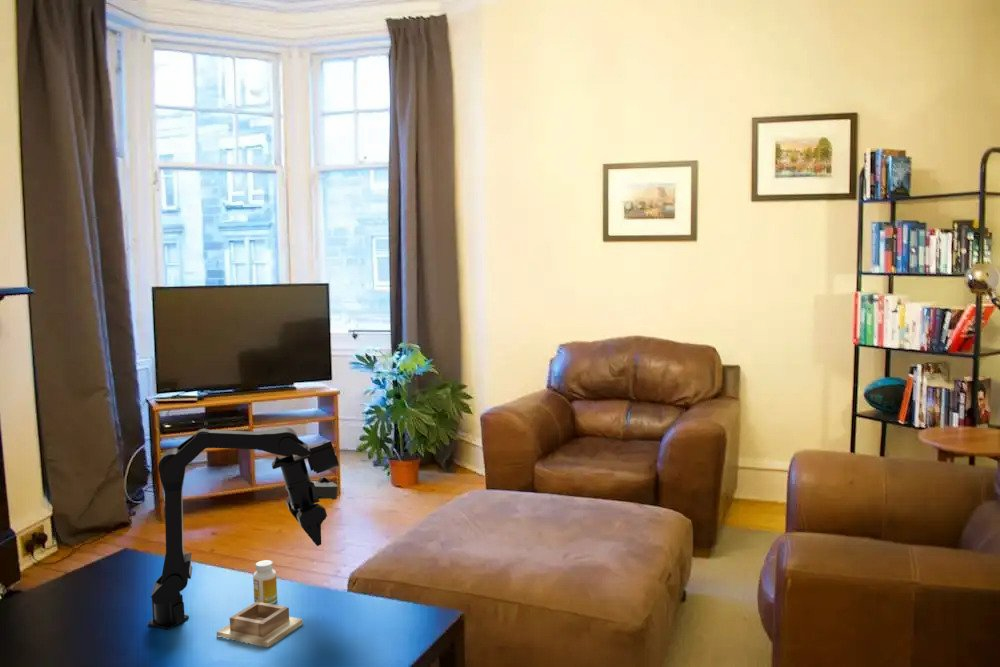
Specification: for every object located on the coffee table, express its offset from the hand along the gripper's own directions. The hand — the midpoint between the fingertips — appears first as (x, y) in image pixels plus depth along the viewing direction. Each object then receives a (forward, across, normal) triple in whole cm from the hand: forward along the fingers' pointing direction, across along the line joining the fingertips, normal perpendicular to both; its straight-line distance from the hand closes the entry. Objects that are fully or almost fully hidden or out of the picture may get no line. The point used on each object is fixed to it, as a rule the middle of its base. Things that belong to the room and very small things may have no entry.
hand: (315, 539), depth 194 cm
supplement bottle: (+12, +6, +14) cm, 20 cm away
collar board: (+12, -10, +18) cm, 24 cm away
